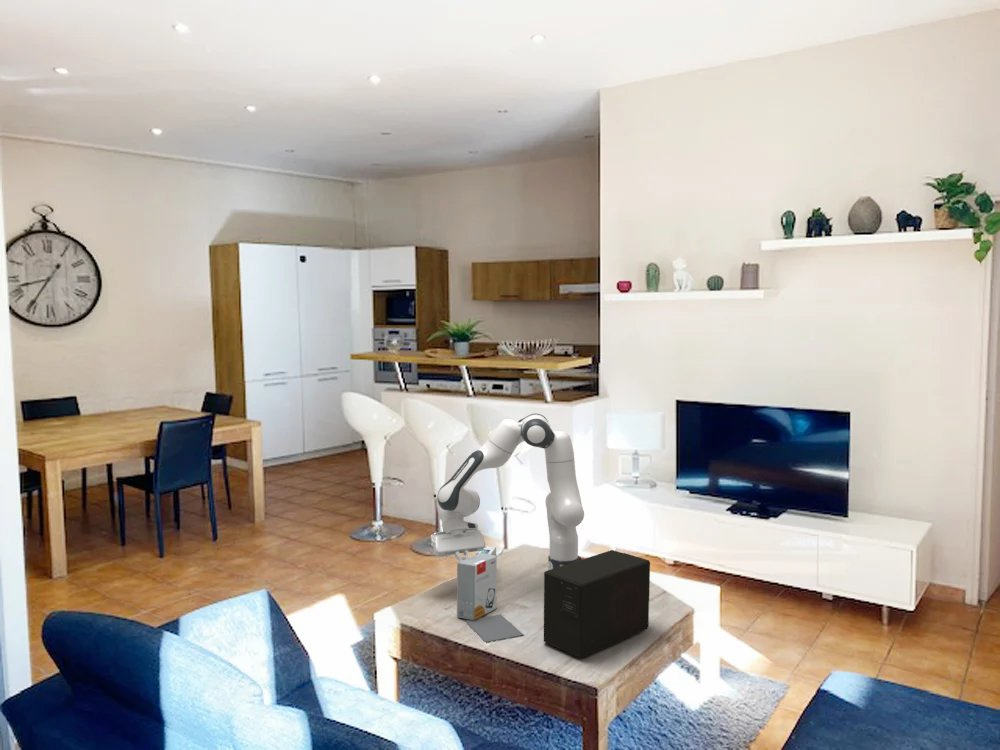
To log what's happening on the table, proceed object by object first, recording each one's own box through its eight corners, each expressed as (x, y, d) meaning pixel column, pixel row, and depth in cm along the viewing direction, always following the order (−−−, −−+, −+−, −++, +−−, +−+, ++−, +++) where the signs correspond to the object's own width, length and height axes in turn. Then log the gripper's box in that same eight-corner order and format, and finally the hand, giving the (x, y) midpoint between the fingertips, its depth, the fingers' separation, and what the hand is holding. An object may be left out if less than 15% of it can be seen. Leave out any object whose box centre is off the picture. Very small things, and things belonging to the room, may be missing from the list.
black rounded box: (609, 613, 281) (610, 546, 279) (652, 629, 267) (654, 559, 264) (536, 642, 256) (536, 569, 254) (579, 662, 242) (580, 585, 239)
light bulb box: (491, 580, 314) (491, 554, 314) (475, 579, 316) (475, 553, 315) (496, 571, 325) (496, 546, 324) (481, 570, 326) (481, 545, 325)
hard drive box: (474, 621, 271) (473, 566, 270) (456, 617, 275) (455, 562, 274) (497, 608, 284) (497, 555, 283) (480, 604, 288) (479, 552, 287)
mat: (500, 615, 278) (500, 614, 278) (523, 635, 261) (523, 634, 261) (464, 621, 272) (464, 620, 272) (485, 642, 255) (485, 641, 255)
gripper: (431, 529, 292) (440, 562, 284) (481, 523, 300) (490, 555, 292) (427, 537, 296) (436, 570, 288) (476, 531, 305) (486, 563, 297)
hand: (464, 562), depth 290 cm, fingers closed
